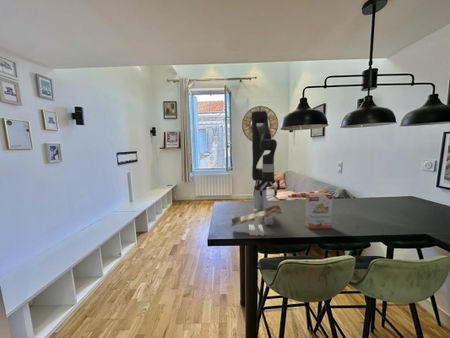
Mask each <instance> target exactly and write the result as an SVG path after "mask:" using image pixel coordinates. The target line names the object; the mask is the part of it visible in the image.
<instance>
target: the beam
mask: <svg viewBox="0 0 450 338" xmlns="http://www.w3.org/2000/svg"><path fill="white" fill-rule="evenodd" d="M281 214H282V210H281V207H280V206H279V204H276V205H272V206H267V208H265V210H264V211H261V212H257V213H253V212H252V213H250V214H246V215H242V216H241V213H236V214H232V215H231V218H230V219H231V227H233V226H237V225H243V224H246V223H249V222H254V220H255V215H258V220H261V219H264V218H266V217H270V216H273V217H274V216H276V215H281Z"/></svg>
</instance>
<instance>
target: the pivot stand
mask: <svg viewBox="0 0 450 338" xmlns="http://www.w3.org/2000/svg"><path fill="white" fill-rule="evenodd" d="M253 213H257V209H254V208H253V212H252V214H253ZM248 233H249V236H250V235H256V236H257V235H261V237H262V235H263V237H264V236H265V231H264V228H263V225H262V224H259V219H258V215H255V220H254V221H253V224H248ZM256 236H255V237H256ZM257 237H258V236H257Z"/></svg>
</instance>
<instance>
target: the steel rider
mask: <svg viewBox="0 0 450 338" xmlns="http://www.w3.org/2000/svg"><path fill="white" fill-rule="evenodd" d="M263 220H264V221H263V222H264V225H267V226H269V225H270V226H272V225H274V215H273V216H270V217H266V218H263Z"/></svg>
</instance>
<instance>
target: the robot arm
mask: <svg viewBox="0 0 450 338" xmlns="http://www.w3.org/2000/svg"><path fill="white" fill-rule="evenodd" d="M257 124H259V125H260V124H261V126H260V128H259V130H258V126H257ZM251 133H252V134H251V135H252V140H251V141H252V142H251V143H252V145H251V149H252V150H251V151H252V166H251V169H252V170H251V178H252V180H253V181H256V184H255V185H254V188H253V189H254V190H253V191H254V192H253V195H254V196H253V198H254V199H253V203H254V206H253V207H254V208H253V209H257V212H261V211H264V210H265V208H268V198H267V197H268V196H267V190H268V189H267V188H268V187H269V188H271V187H272V188H273V189H274V191H273V192H274V193H273V196H274V197H277V195H278V191H279V190H281V183H280V180H279V179H275V155H276V154H275V153H276V150H277V148H278V142H277V140H276V139H275V138H272V133H271V131H270V127H269V118H268V113H267V111H266V110H253V111H252V112H251ZM266 151H269V153H266V154H265V152H266ZM261 158H262V166H261V167H259V168H258V163H259V161H260V159H261ZM275 184H276V186H277V187H276V186H275Z"/></svg>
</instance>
